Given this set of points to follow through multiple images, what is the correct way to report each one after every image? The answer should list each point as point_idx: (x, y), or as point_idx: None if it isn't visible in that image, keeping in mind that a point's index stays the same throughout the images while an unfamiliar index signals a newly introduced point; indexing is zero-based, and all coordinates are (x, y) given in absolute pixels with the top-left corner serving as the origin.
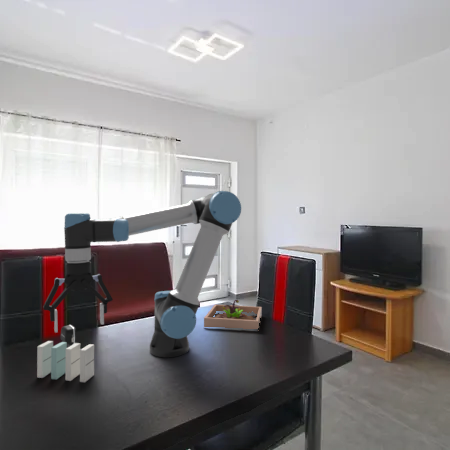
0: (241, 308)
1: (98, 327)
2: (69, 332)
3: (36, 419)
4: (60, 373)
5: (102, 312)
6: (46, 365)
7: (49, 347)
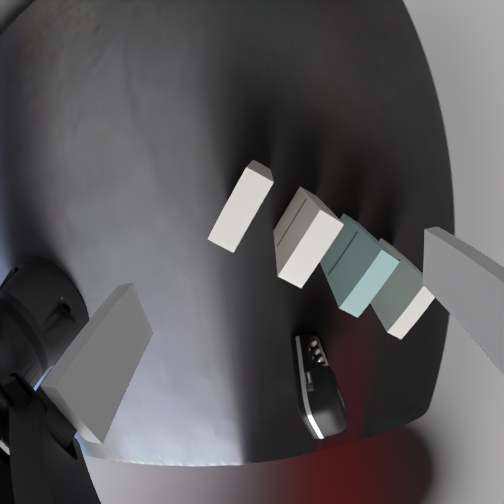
0: None
1: (242, 464)
2: (323, 397)
3: (355, 11)
4: None
5: (83, 337)
6: None
7: (394, 305)
